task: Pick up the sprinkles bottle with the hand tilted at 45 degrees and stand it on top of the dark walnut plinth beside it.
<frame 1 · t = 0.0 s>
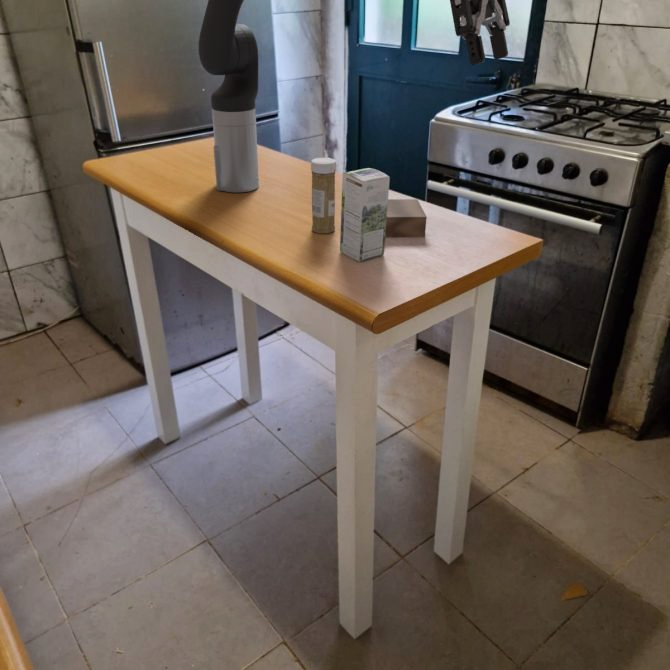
hand: (490, 60, 98), 31 cm above the table, tool tilted 20°, fingers open, 8 cm apart
syrup box: (362, 255, 111), on the table
plinth: (394, 227, 122), on the table
sprinkles bottle: (323, 231, 121), on the table
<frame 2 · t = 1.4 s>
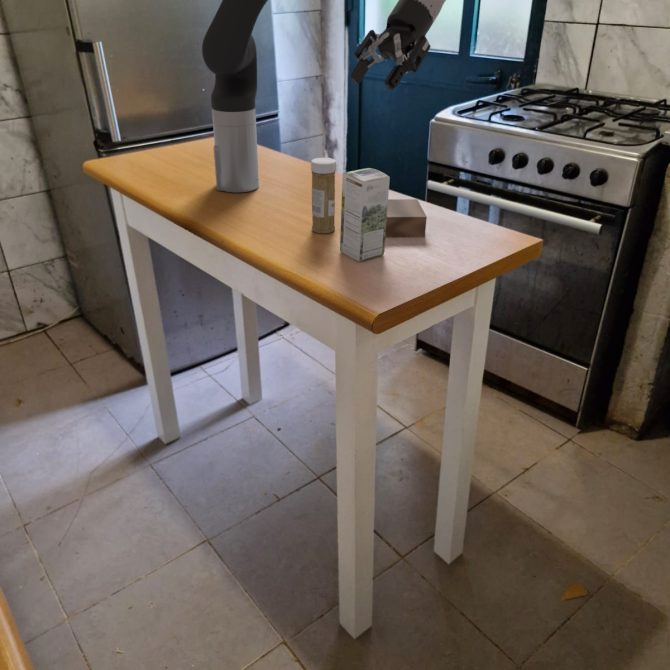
hand: (370, 83, 115), 25 cm above the table, tool tilted 45°, fingers open, 8 cm apart
nothing on the table moved.
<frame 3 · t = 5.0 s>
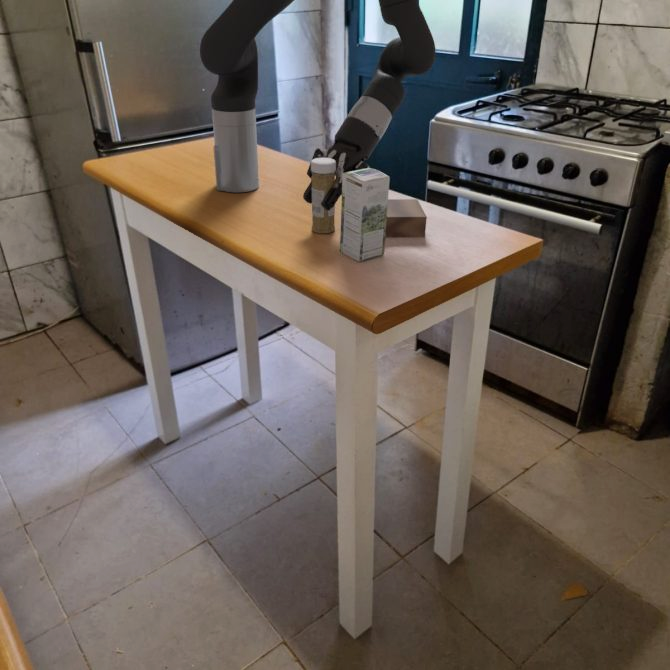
hand: (315, 204, 117), 6 cm above the table, tool tilted 45°, fingers closed on sprinkles bottle, 4 cm apart
sprinkles bottle: (323, 231, 121), on the table, touching gripper
everything else where it was.
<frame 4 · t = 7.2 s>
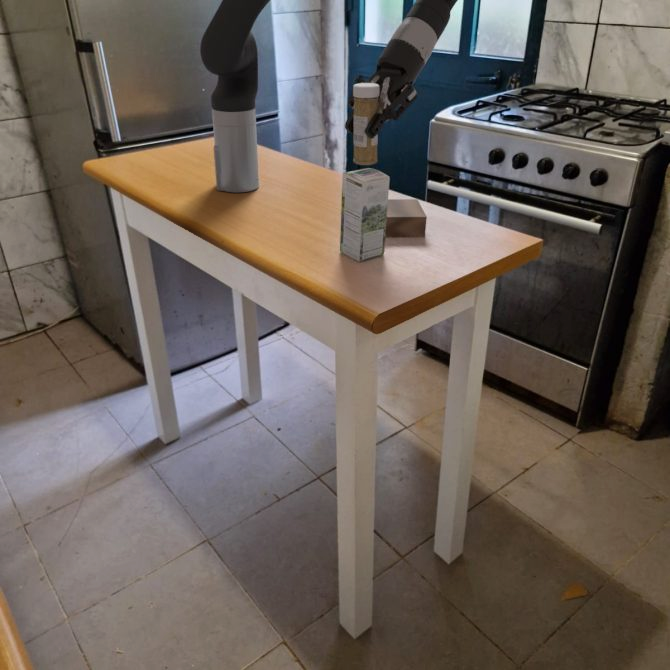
hand: (358, 132, 111), 18 cm above the table, tool tilted 45°, fingers closed on sprinkles bottle, 4 cm apart
sprinkles bottle: (365, 163, 115), point 13 cm above the table, touching gripper
everything else where it was.
when the fingers open (11 cm above the table, at t = 9.3 s): sprinkles bottle drops 1 cm, resting on plinth.
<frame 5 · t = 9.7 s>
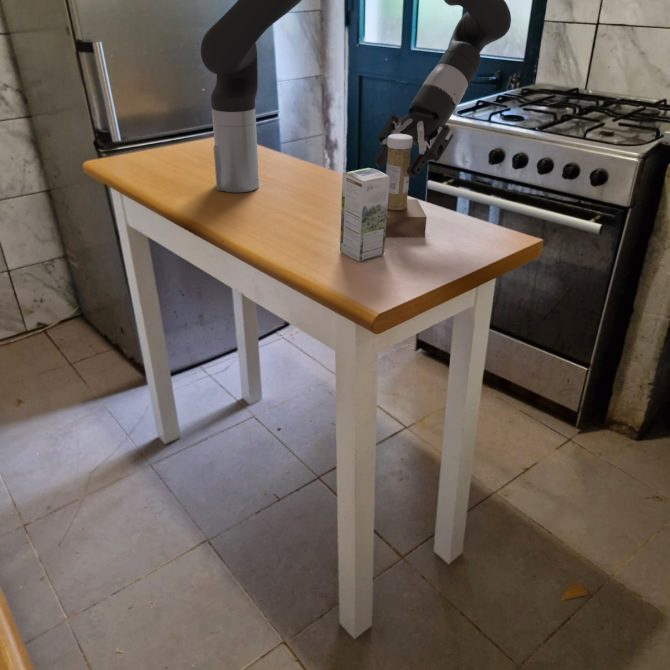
hand: (393, 170, 116), 12 cm above the table, tool tilted 45°, fingers open, 7 cm apart
sprinkles bottle: (395, 208, 121), point 4 cm above the table, touching plinth
everything else where it was.
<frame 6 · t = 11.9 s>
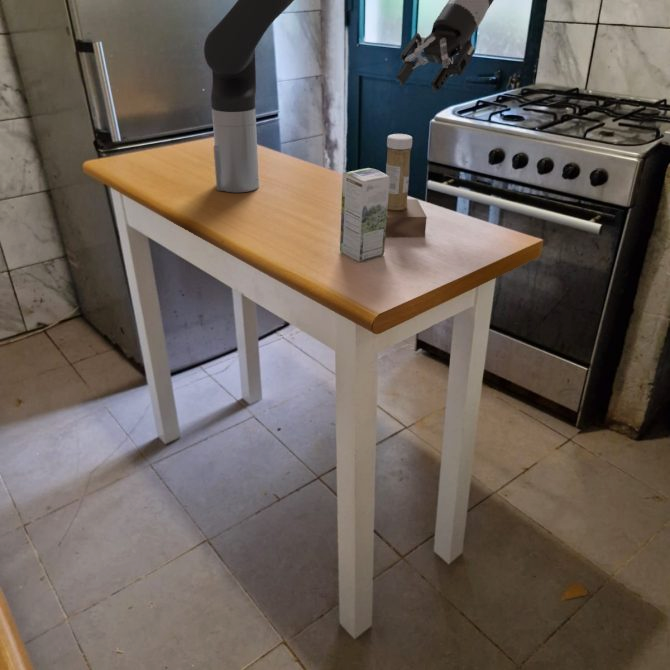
hand: (416, 84, 121), 24 cm above the table, tool tilted 45°, fingers open, 8 cm apart
nothing on the table moved.
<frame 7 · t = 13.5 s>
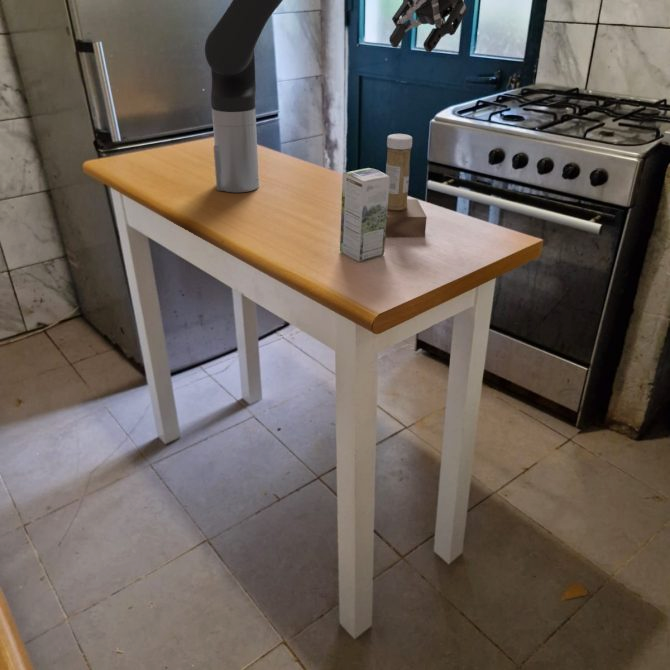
hand: (409, 46, 120), 31 cm above the table, tool tilted 45°, fingers open, 8 cm apart
nothing on the table moved.
at the end: sprinkles bottle inside the target area on the plinth (0.3 cm from its centre), point 3.8 cm above the plinth's base; sprinkles bottle tilted 0°; the gripper is holding nothing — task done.
